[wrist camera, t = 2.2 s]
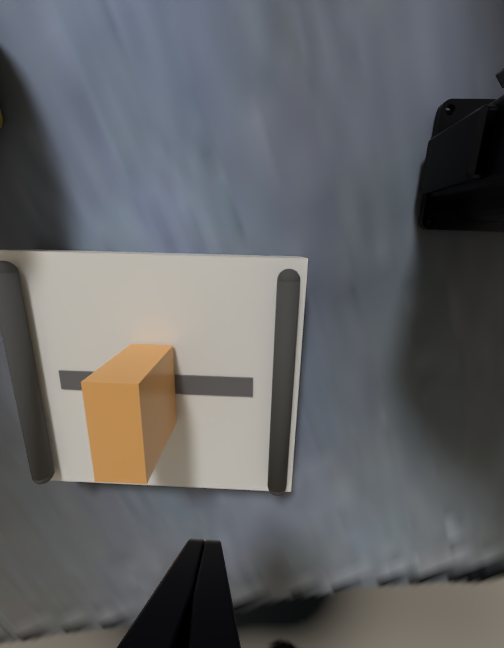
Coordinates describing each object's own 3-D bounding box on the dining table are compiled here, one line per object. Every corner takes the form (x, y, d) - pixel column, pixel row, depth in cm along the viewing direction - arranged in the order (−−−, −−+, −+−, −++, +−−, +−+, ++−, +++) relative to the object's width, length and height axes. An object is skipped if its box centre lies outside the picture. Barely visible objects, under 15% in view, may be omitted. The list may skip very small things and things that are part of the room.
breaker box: (300, 256, 18) (308, 258, 15) (287, 459, 22) (291, 493, 19) (33, 249, 19) (-11, 250, 16) (66, 449, 23) (36, 480, 20)
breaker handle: (173, 345, 17) (138, 384, 12) (176, 422, 18) (146, 484, 13) (131, 343, 17) (80, 381, 12) (138, 420, 18) (95, 481, 13)
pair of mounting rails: (299, 268, 15) (302, 269, 14) (285, 485, 19) (286, 501, 18) (0, 259, 16) (-20, 260, 15) (42, 473, 20) (28, 488, 18)
